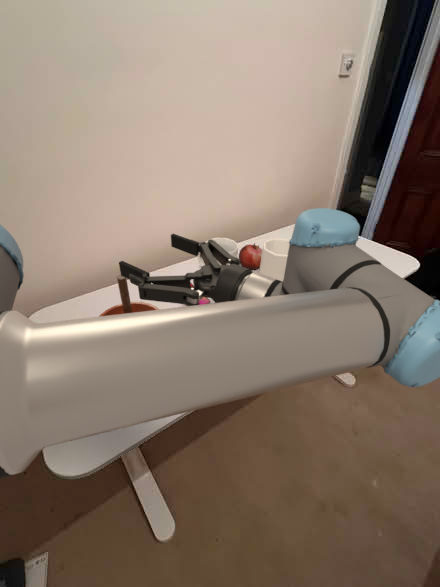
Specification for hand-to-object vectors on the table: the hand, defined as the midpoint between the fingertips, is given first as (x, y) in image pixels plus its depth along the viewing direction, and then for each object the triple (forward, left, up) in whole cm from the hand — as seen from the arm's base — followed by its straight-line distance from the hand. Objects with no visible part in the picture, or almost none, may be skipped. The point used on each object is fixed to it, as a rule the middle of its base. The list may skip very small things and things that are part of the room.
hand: (148, 252), depth 58 cm
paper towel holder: (-9, +3, -29) cm, 31 cm away
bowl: (-9, +3, -30) cm, 32 cm away
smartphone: (-1, +26, -30) cm, 40 cm away
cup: (+25, +33, -30) cm, 51 cm away
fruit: (+15, +50, -30) cm, 60 cm away
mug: (+5, +39, -30) cm, 50 cm away
